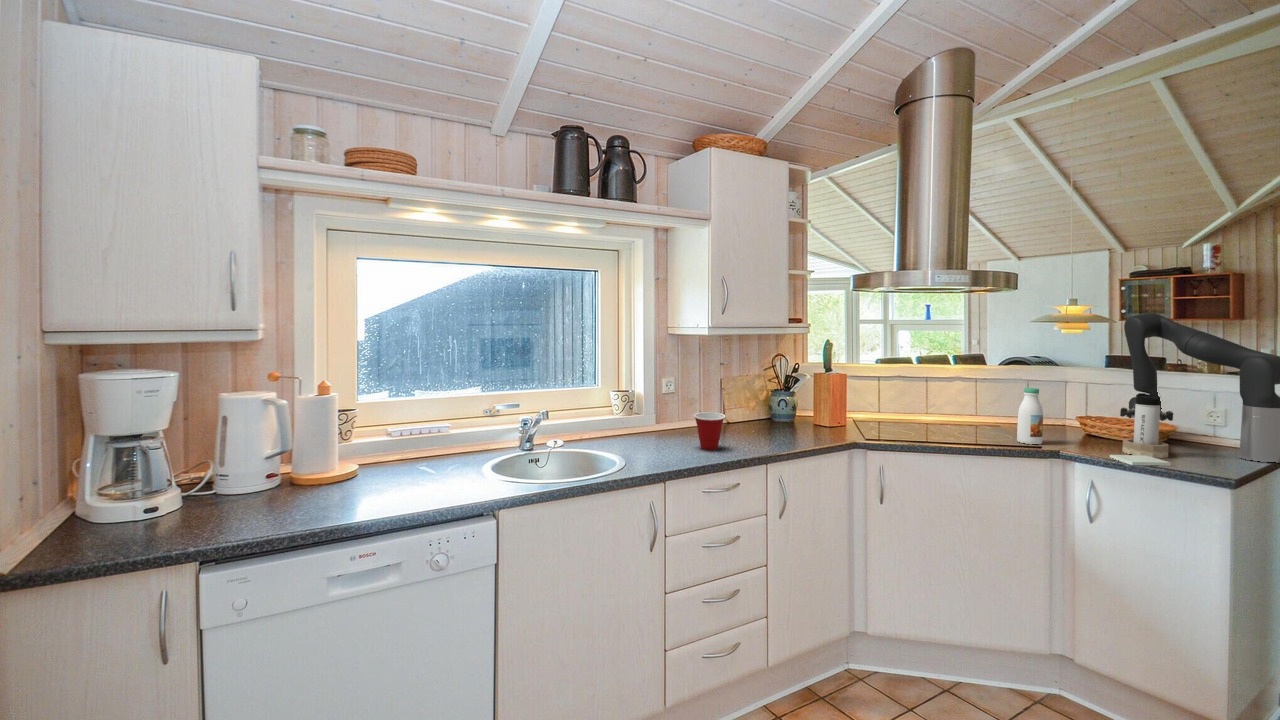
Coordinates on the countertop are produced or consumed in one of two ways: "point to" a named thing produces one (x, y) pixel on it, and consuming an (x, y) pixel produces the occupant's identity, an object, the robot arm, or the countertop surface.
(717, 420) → the plastic cup
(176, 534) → the countertop surface
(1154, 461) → the sage pad
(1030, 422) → the milk bottle
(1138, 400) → the travel mug
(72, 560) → the countertop surface
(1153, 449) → the collar ring
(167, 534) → the countertop surface
